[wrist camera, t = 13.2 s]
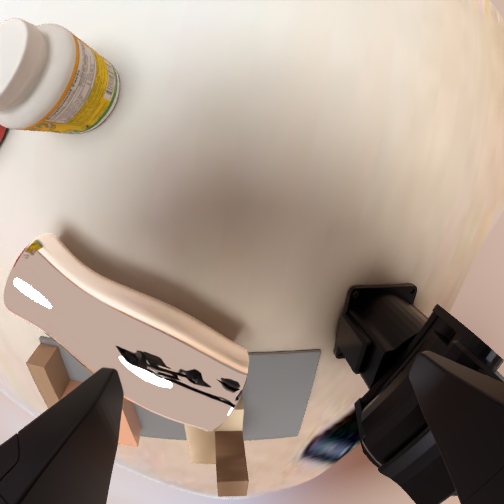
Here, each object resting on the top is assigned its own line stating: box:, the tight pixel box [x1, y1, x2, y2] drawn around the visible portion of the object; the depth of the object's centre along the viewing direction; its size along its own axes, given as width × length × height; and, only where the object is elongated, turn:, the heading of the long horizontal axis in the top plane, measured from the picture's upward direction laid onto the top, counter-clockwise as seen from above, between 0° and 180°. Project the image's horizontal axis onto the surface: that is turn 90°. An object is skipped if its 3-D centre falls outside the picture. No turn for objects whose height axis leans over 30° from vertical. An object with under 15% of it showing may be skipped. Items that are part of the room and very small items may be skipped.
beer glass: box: [4, 233, 249, 432], centre depth 16 cm, size 7×7×15 cm
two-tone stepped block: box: [184, 395, 249, 496], centre depth 19 cm, size 5×9×8 cm, turn 177°
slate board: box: [26, 337, 321, 440], centre depth 21 cm, size 24×12×3 cm, turn 87°
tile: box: [61, 380, 141, 447], centre depth 20 cm, size 6×6×2 cm
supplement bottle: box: [0, 18, 119, 134], centre depth 10 cm, size 5×5×10 cm
